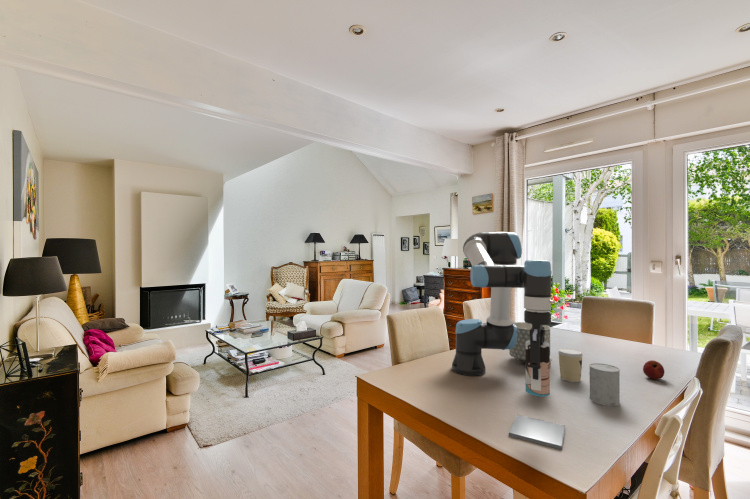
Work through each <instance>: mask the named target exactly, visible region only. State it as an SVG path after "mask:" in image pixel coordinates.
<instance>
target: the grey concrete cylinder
mask: <svg viewBox="0 0 750 499" xmlns="http://www.w3.org/2000/svg"><path fill="white" fill-rule="evenodd" d="M620 371H621V369H620V368H619V367H617V366H614V365H613V364H608V363H607V364H605V363H598V362H597V363H595V362H593V363H590V364H589V400H590V401H592V402H594V403H596V404H599V405H602V406H607V405H608V407H617V406H620V404H621V402H620V401H621V400H620V399H621V398H620V397H621V396H620V393H621V392H620V390H621V389H620V382H621V381H620V376H621V375H620Z"/></svg>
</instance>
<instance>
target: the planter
mask: <svg viewBox="0 0 750 499" xmlns="http://www.w3.org/2000/svg"><path fill="white" fill-rule="evenodd" d="M513 324H515V325H516V327H517V341H516V344H515V346H514V347H513V348H512V349H508V351H509V352H508V353H509V356H511V357H512V358H515V359H516V360H517V361H519V362H520V363H524V364H526V341H529V340H530V329H531V328H532V324H528V323H526V322H525V321H517V322H514V321H513ZM543 327H544V328H545V341H544V342H547V343H549V344H550V345H551V327H550V325H543Z"/></svg>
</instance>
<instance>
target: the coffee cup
mask: <svg viewBox="0 0 750 499" xmlns="http://www.w3.org/2000/svg"><path fill="white" fill-rule="evenodd" d="M583 356H584V354H583V353H582V351H580V350H577V349H573V348H572V349H571V348H560V349H558V363H559V376H560V379H561V380H563V381H565V382H571V383H580V382H581V379H582V369H583V368H582V366H583Z"/></svg>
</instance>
